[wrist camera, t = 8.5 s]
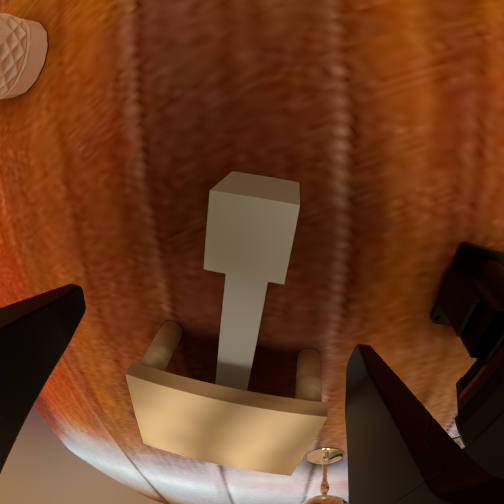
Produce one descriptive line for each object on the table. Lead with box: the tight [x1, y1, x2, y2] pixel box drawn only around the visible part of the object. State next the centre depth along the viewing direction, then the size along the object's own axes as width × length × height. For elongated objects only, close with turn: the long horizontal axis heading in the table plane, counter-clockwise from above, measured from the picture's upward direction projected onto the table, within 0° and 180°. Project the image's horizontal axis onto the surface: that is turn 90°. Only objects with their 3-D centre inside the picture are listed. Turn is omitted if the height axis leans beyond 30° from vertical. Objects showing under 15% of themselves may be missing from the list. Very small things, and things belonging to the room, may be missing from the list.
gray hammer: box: [204, 171, 300, 391], centre depth 20 cm, size 4×20×5 cm, turn 172°
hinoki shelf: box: [126, 321, 327, 476], centre depth 22 cm, size 13×10×6 cm
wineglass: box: [302, 448, 348, 504], centre depth 24 cm, size 6×6×12 cm
